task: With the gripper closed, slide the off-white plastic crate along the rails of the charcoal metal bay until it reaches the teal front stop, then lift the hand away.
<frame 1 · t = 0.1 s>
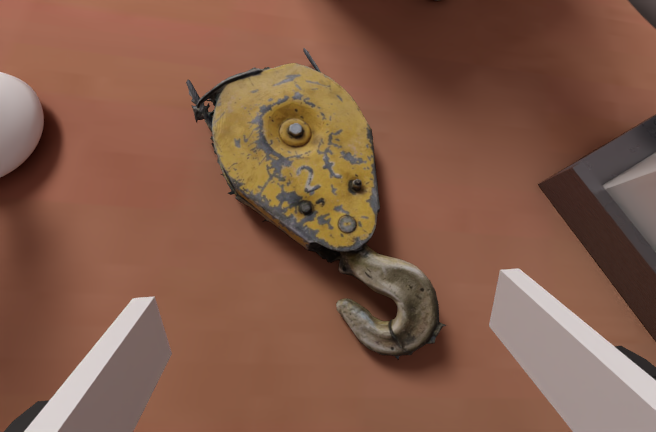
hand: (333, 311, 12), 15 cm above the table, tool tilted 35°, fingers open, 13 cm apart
pulley block: (319, 203, 30), on the table
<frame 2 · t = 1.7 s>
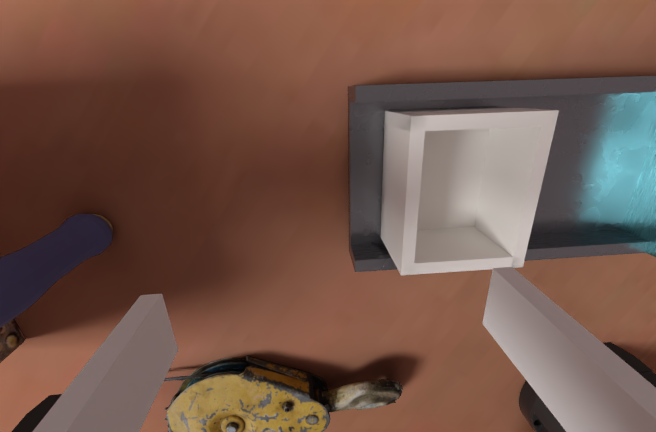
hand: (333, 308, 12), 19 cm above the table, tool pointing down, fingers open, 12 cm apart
bay: (499, 169, 31), on the table
pulley block: (282, 389, 40), on the table
rubber mallet: (99, 226, 30), on the table
crate: (451, 186, 26), point 5 cm above the table, slide at 0.0 cm
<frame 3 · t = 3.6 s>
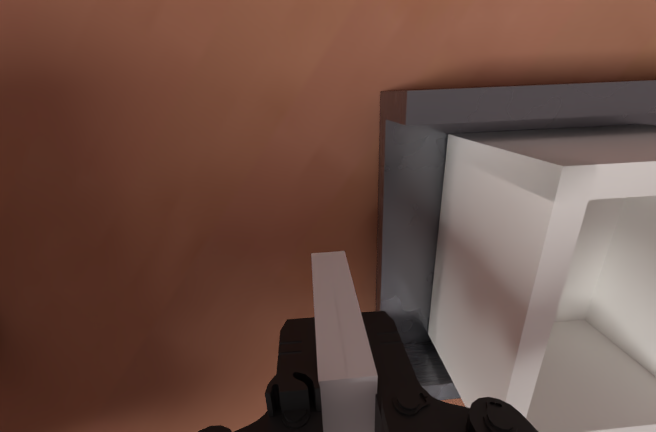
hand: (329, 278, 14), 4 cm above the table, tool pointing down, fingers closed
bay: (622, 223, 19), on the table
crate: (576, 275, 14), point 5 cm above the table, slide at 0.0 cm
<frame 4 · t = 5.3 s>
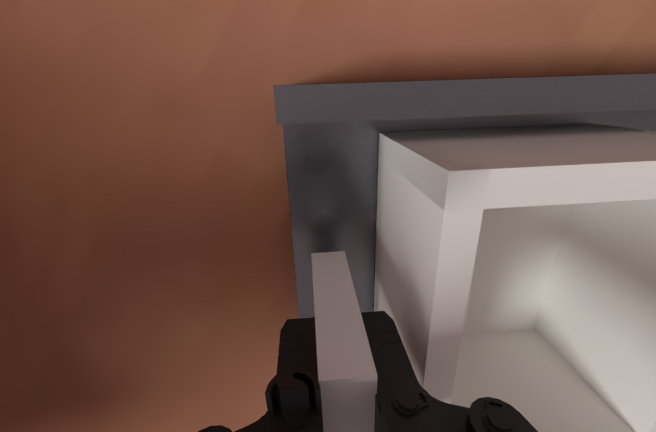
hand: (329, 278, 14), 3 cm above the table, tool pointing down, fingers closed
bay: (556, 229, 18), on the table
crate: (511, 285, 13), point 5 cm above the table, slide at 1.2 cm, touching gripper
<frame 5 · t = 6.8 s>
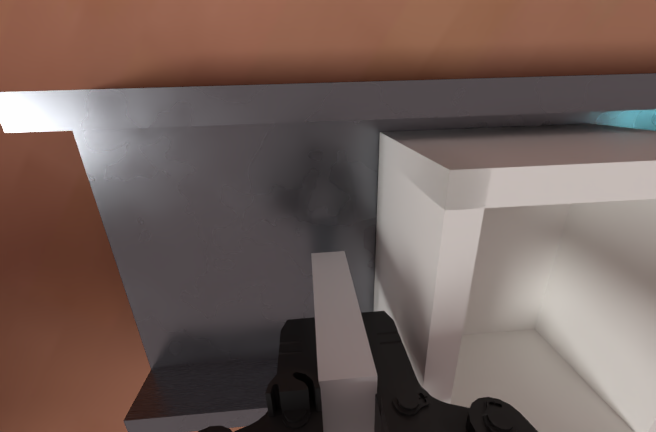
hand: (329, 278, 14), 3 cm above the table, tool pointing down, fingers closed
bay: (409, 238, 17), on the table
crate: (511, 285, 13), point 5 cm above the table, slide at 9.8 cm, touching gripper
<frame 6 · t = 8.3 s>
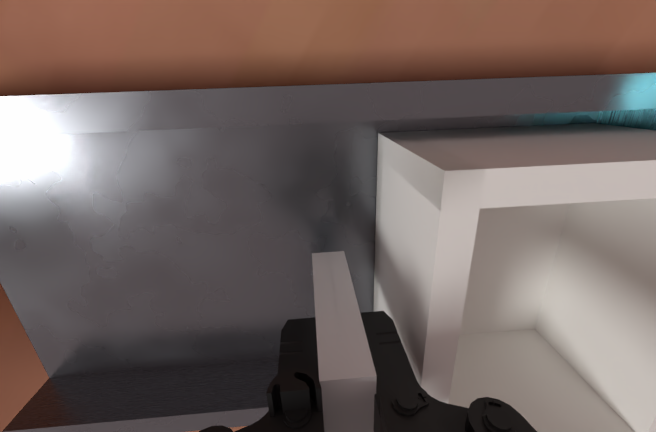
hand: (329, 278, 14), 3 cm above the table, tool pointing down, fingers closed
bay: (305, 245, 17), on the table
crate: (510, 285, 13), point 5 cm above the table, slide at 15.6 cm, touching gripper
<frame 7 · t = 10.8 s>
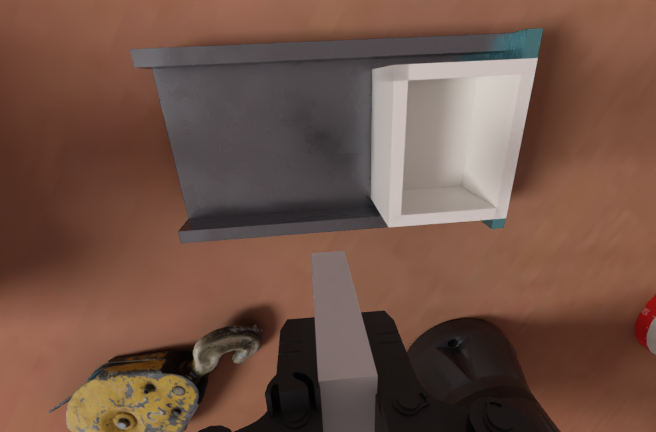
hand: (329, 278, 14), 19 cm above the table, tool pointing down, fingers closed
bay: (333, 139, 30), on the table
pulley block: (173, 372, 41), on the table
crate: (437, 142, 26), point 5 cm above the table, slide at 15.5 cm
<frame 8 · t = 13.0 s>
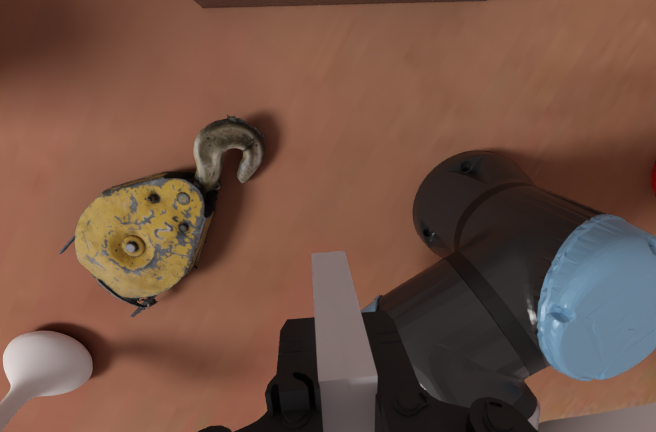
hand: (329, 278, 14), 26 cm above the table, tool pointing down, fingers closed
flower in vase: (63, 356, 47), on the table
pulley block: (179, 207, 40), on the table
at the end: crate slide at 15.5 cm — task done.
